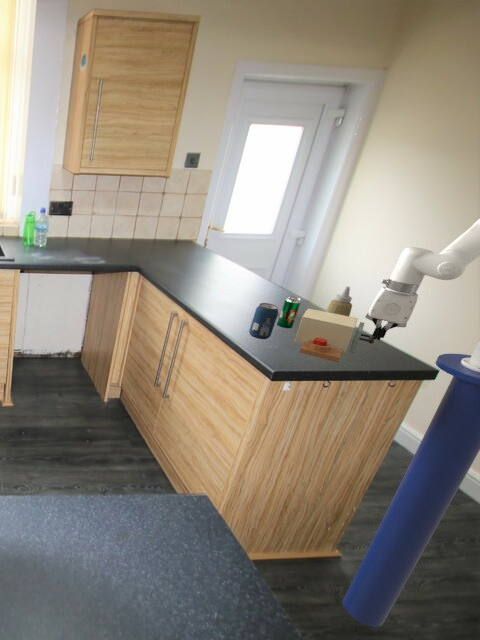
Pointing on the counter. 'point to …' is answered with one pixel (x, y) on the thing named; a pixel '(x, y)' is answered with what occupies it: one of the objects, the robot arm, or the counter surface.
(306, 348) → the control block
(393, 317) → the robot arm
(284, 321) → the soda can
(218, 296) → the counter surface
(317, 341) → the button
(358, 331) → the grey piece
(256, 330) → the soda can
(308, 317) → the cream appliance housing
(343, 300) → the squeeze bottle
